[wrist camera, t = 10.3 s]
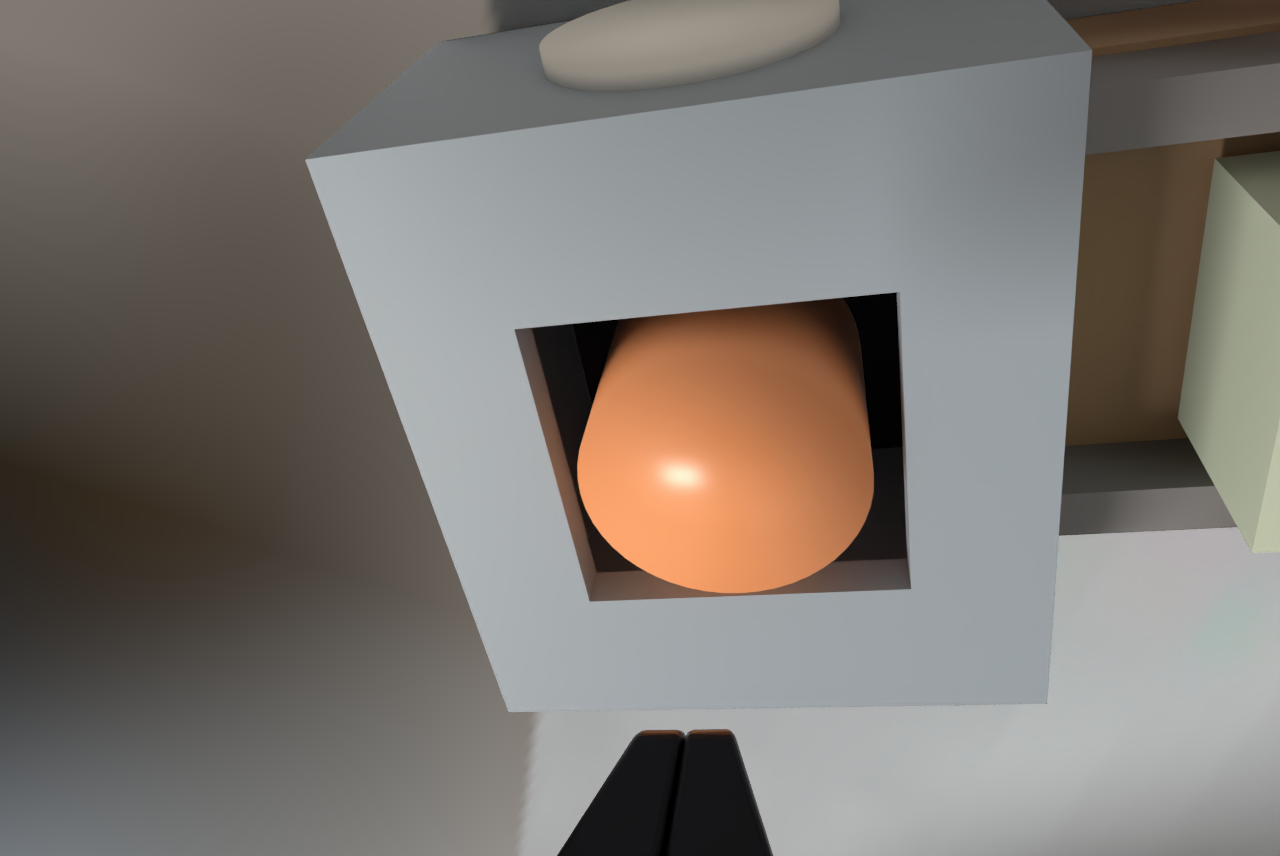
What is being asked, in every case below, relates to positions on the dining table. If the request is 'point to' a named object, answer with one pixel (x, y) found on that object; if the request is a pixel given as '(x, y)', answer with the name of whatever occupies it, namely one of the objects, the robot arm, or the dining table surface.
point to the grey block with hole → (722, 279)
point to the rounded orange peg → (731, 444)
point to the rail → (1154, 248)
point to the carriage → (1239, 346)
